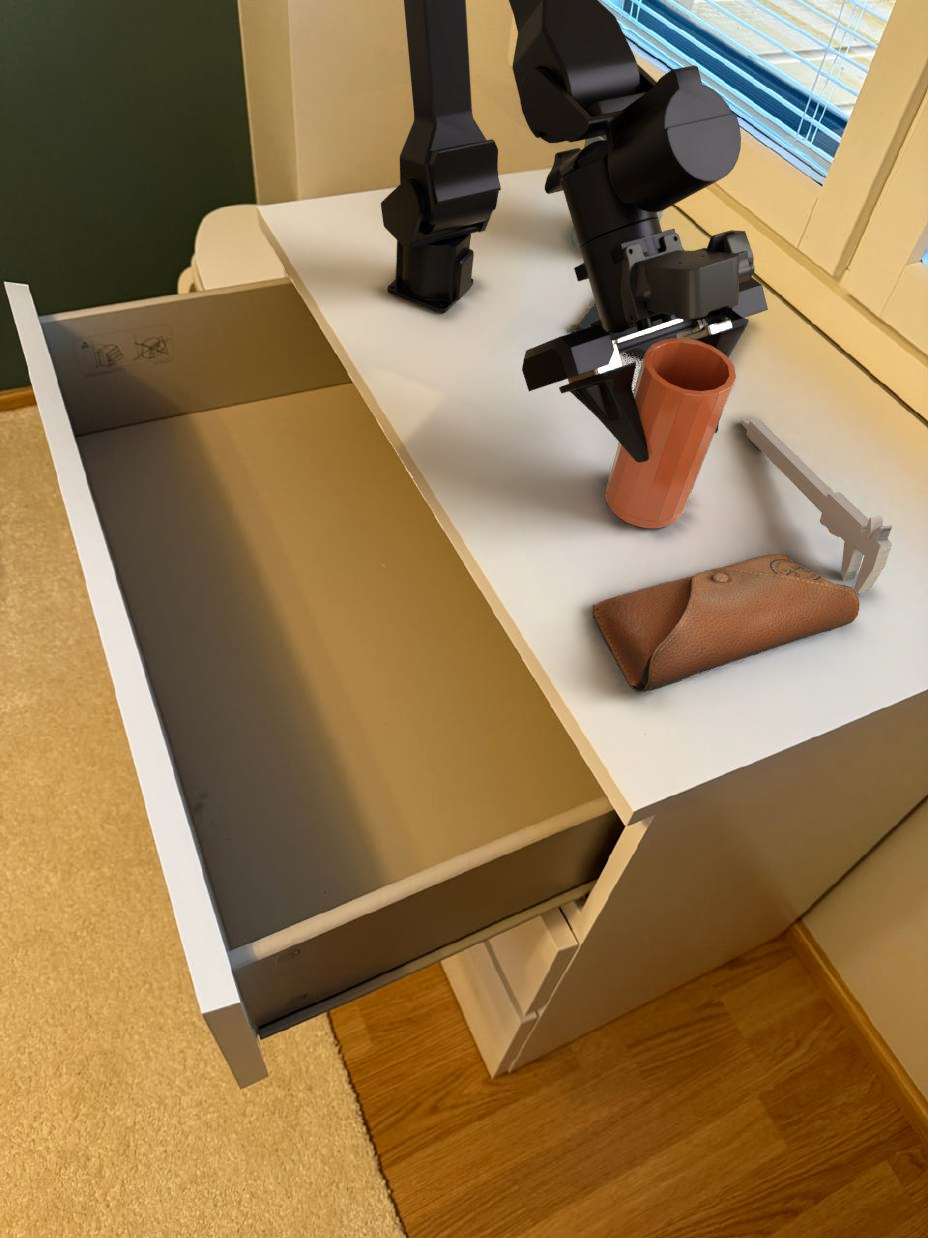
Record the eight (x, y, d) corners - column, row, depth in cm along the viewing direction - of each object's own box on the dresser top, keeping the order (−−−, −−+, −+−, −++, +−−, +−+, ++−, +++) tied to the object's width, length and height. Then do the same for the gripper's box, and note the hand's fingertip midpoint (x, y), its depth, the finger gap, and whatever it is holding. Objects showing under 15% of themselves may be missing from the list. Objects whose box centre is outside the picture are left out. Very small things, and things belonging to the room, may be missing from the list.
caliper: (866, 596, 70) (904, 539, 66) (854, 598, 70) (891, 541, 65) (749, 423, 82) (773, 364, 77) (738, 424, 82) (762, 365, 77)
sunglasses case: (783, 545, 72) (840, 523, 66) (813, 631, 72) (873, 617, 65) (582, 606, 67) (623, 589, 60) (613, 699, 66) (658, 692, 60)
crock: (593, 508, 73) (631, 372, 63) (622, 461, 77) (662, 327, 67) (668, 540, 72) (719, 406, 62) (694, 491, 76) (746, 358, 65)
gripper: (577, 224, 54) (649, 478, 58) (798, 165, 62) (851, 394, 65) (488, 276, 64) (555, 491, 68) (688, 221, 72) (739, 416, 75)
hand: (677, 447), depth 69 cm, fingers closed on crock, 6 cm apart
